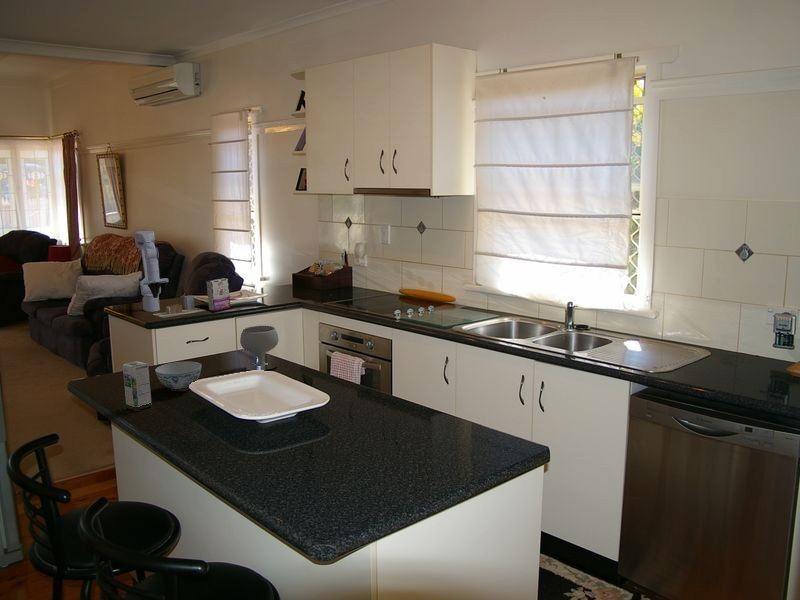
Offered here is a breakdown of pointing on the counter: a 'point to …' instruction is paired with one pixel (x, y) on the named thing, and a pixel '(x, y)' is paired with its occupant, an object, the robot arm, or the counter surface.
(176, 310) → the walnut block
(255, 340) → the chalice
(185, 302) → the slate blue block
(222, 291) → the candy bar box
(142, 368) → the syrup box
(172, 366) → the chinaware
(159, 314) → the birch board
